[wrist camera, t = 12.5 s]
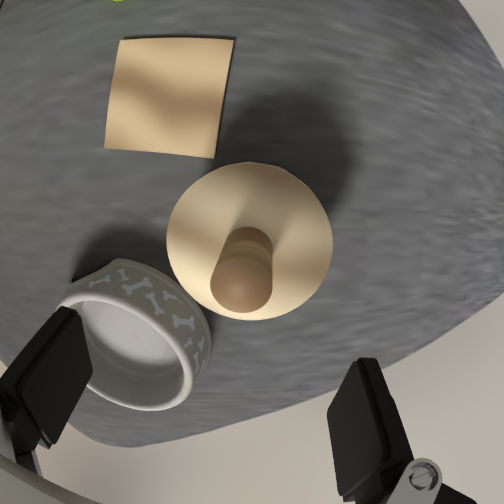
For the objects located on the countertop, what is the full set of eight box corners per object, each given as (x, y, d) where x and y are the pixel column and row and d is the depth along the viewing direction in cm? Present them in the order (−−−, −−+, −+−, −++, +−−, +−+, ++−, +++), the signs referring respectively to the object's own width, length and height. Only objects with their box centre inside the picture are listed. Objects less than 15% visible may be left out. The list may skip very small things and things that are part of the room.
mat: (122, 41, 19) (120, 40, 19) (234, 41, 19) (233, 40, 19) (106, 147, 23) (104, 148, 23) (214, 158, 23) (213, 158, 23)
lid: (179, 151, 19) (142, 161, 13) (346, 180, 19) (376, 201, 13) (168, 296, 23) (141, 345, 18) (308, 320, 23) (316, 376, 18)
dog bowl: (238, 369, 32) (233, 405, 27) (119, 390, 36) (106, 418, 31) (162, 235, 26) (139, 259, 22) (46, 289, 30) (21, 312, 25)
